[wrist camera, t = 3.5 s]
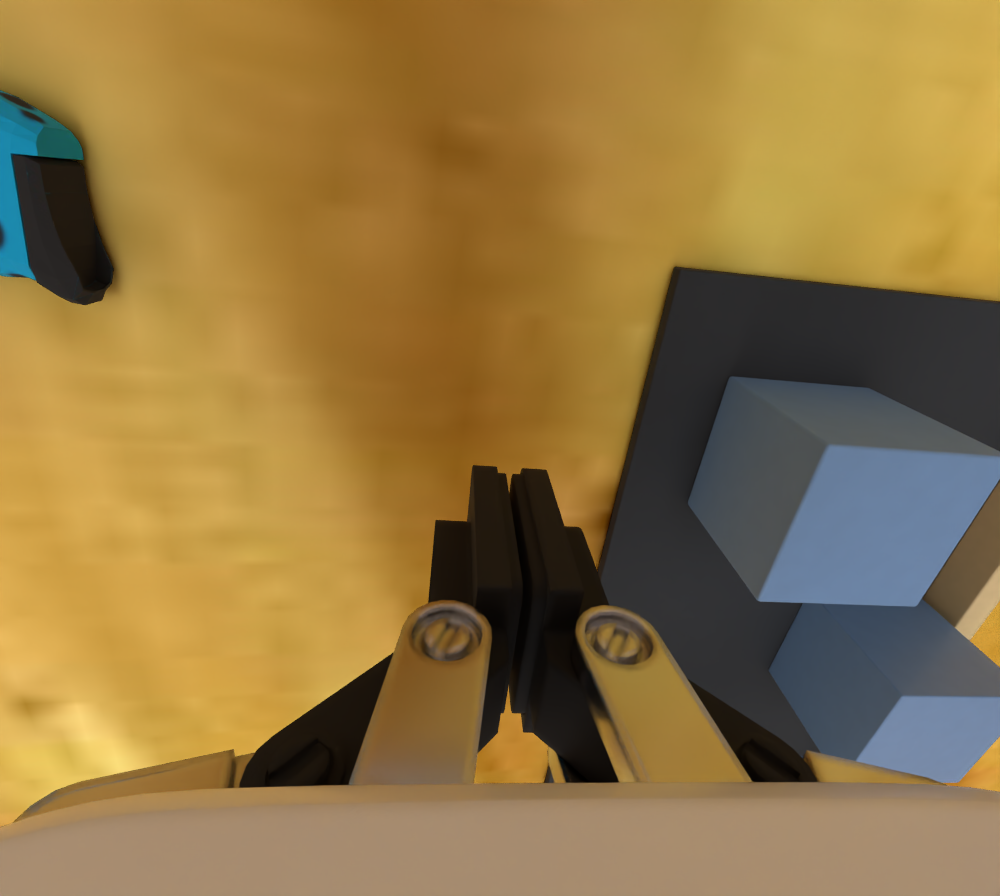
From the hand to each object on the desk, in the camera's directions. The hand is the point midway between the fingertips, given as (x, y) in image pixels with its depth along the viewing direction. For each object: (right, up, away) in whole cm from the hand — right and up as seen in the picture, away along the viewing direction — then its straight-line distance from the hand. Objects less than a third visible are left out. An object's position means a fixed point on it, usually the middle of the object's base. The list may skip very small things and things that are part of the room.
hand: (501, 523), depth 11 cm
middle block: (+14, -6, +9) cm, 17 cm away
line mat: (+10, -5, +9) cm, 14 cm away
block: (+9, +2, +4) cm, 10 cm away
